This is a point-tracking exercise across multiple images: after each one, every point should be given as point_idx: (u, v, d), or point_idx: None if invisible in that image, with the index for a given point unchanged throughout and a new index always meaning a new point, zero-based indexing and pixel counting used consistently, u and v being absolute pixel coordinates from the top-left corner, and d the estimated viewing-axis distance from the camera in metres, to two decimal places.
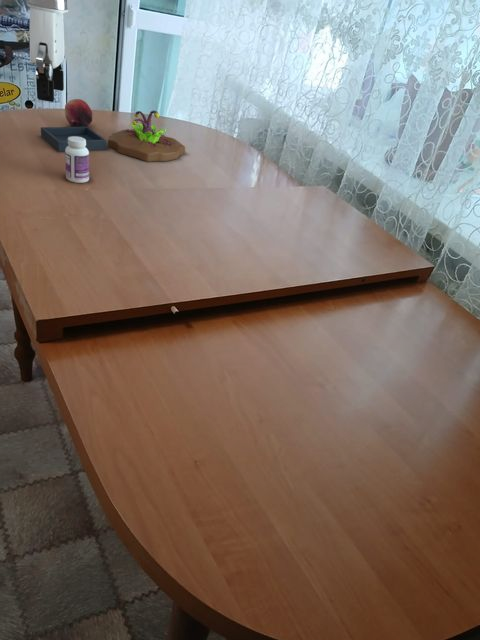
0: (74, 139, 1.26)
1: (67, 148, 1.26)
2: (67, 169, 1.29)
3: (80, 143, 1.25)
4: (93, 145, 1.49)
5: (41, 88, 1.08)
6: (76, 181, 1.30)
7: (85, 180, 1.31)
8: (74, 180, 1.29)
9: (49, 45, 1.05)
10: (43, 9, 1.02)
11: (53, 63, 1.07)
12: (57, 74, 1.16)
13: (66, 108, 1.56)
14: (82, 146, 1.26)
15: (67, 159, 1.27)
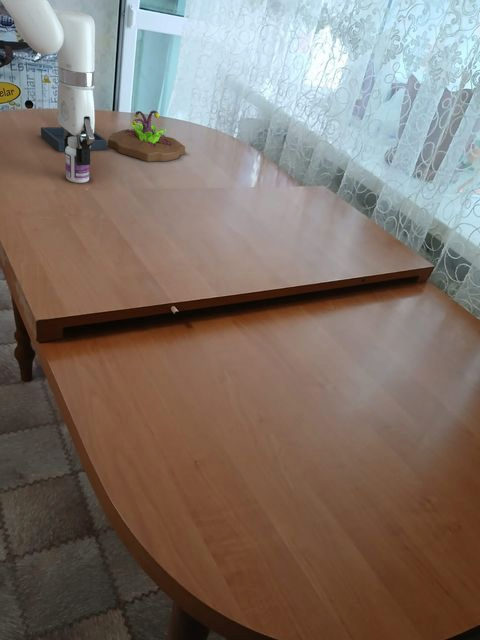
0: (74, 139, 1.26)
1: (67, 148, 1.26)
2: (67, 169, 1.29)
3: None
4: (93, 145, 1.49)
5: (82, 156, 1.25)
6: (76, 181, 1.30)
7: (85, 180, 1.31)
8: (74, 180, 1.29)
9: (91, 117, 1.21)
10: (84, 88, 1.17)
11: (93, 131, 1.23)
12: None
13: None
14: None
15: (67, 159, 1.27)
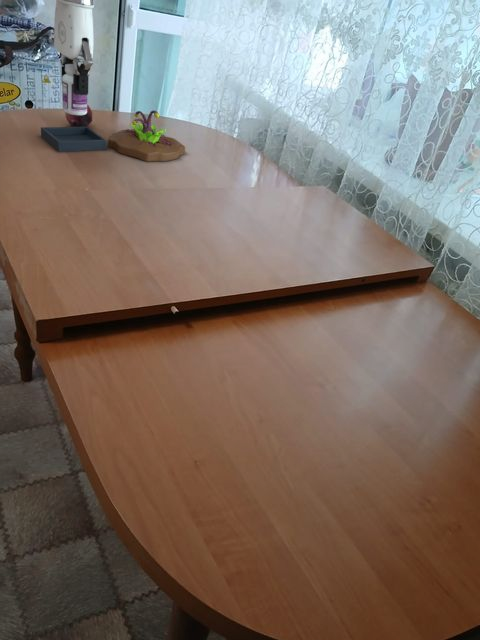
0: (72, 66, 1.18)
1: (64, 76, 1.19)
2: (64, 99, 1.21)
3: None
4: (93, 145, 1.49)
5: (80, 83, 1.18)
6: (73, 113, 1.22)
7: (83, 113, 1.23)
8: (71, 112, 1.22)
9: (90, 39, 1.13)
10: (83, 6, 1.10)
11: (92, 56, 1.15)
12: None
13: None
14: None
15: (64, 88, 1.19)
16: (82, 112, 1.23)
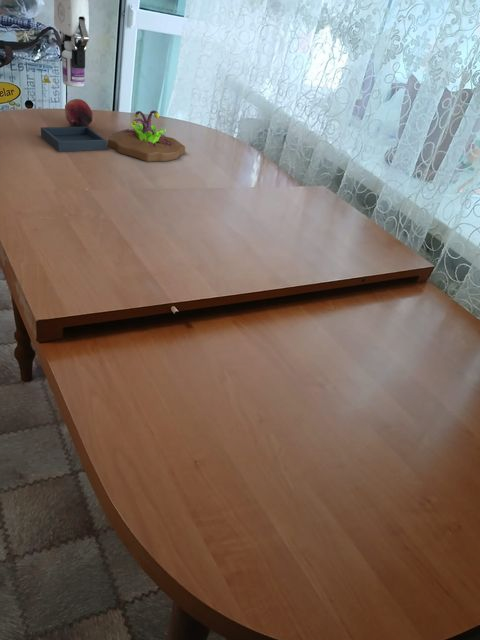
0: (70, 42, 1.33)
1: (64, 51, 1.34)
2: (64, 73, 1.36)
3: None
4: (93, 145, 1.49)
5: (78, 58, 1.33)
6: (72, 85, 1.37)
7: (81, 85, 1.38)
8: (70, 84, 1.37)
9: (86, 18, 1.28)
10: None
11: (88, 33, 1.31)
12: None
13: (66, 108, 1.56)
14: None
15: (64, 62, 1.35)
16: (80, 84, 1.38)
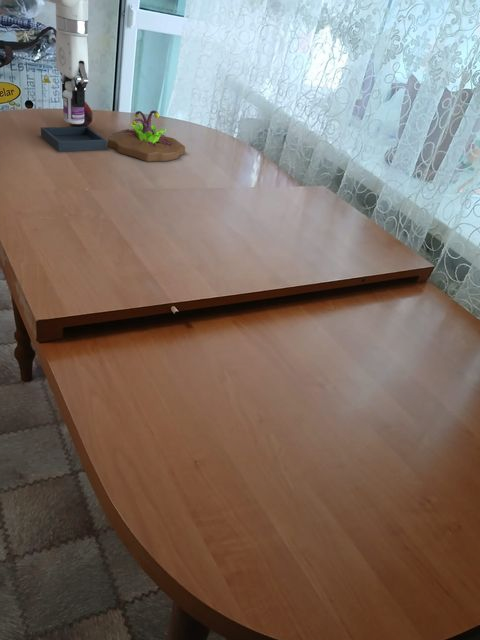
0: (71, 83, 1.41)
1: (64, 91, 1.42)
2: (64, 111, 1.44)
3: None
4: (93, 145, 1.49)
5: (78, 98, 1.41)
6: (72, 122, 1.45)
7: (81, 122, 1.46)
8: (71, 121, 1.45)
9: (85, 62, 1.36)
10: (79, 35, 1.33)
11: (87, 75, 1.38)
12: None
13: None
14: None
15: (64, 102, 1.43)
16: (80, 121, 1.46)
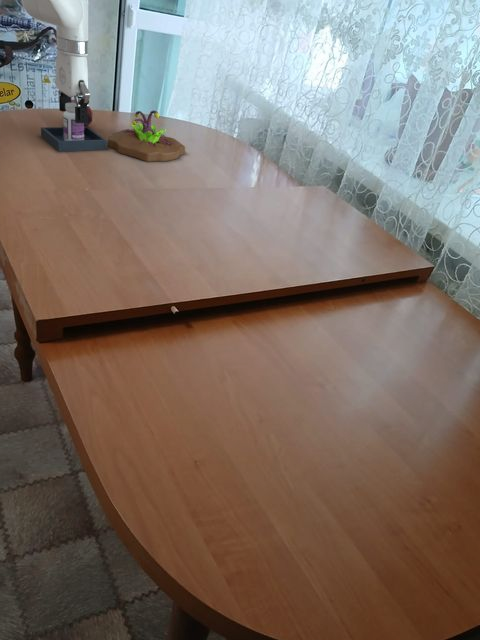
0: (71, 104, 1.44)
1: (65, 112, 1.45)
2: (65, 131, 1.47)
3: None
4: (93, 145, 1.49)
5: (81, 114, 1.42)
6: None
7: None
8: None
9: (85, 81, 1.39)
10: (79, 55, 1.35)
11: None
12: (67, 99, 1.48)
13: None
14: None
15: (65, 122, 1.46)
16: None
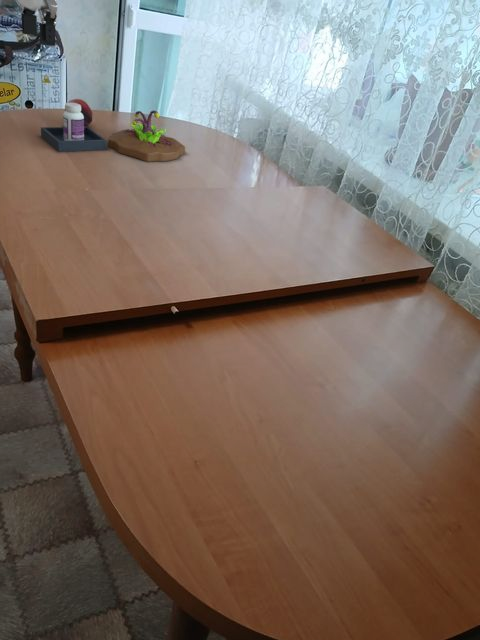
0: (71, 104, 1.44)
1: (65, 112, 1.45)
2: (65, 131, 1.47)
3: (76, 108, 1.44)
4: (93, 145, 1.49)
5: (47, 33, 1.17)
6: None
7: None
8: None
9: None
10: None
11: None
12: (32, 19, 1.23)
13: None
14: (78, 111, 1.45)
15: (65, 122, 1.46)
16: None
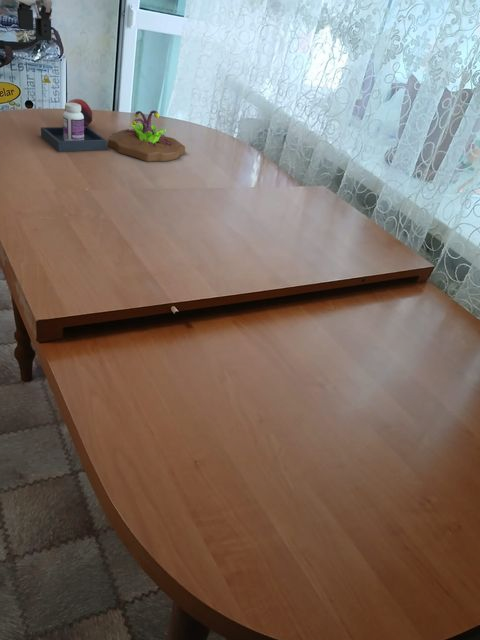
0: (71, 104, 1.44)
1: (65, 112, 1.45)
2: (65, 131, 1.47)
3: (76, 108, 1.44)
4: (93, 145, 1.49)
5: (42, 28, 1.15)
6: None
7: None
8: None
9: None
10: None
11: None
12: (28, 13, 1.20)
13: None
14: (78, 111, 1.45)
15: (65, 122, 1.46)
16: None
